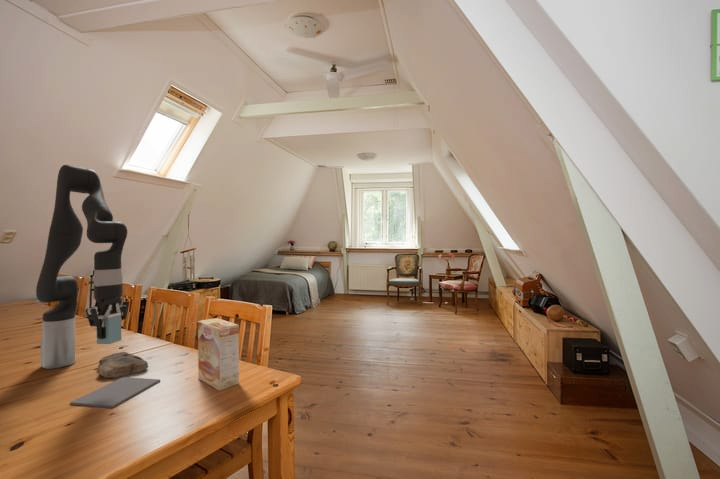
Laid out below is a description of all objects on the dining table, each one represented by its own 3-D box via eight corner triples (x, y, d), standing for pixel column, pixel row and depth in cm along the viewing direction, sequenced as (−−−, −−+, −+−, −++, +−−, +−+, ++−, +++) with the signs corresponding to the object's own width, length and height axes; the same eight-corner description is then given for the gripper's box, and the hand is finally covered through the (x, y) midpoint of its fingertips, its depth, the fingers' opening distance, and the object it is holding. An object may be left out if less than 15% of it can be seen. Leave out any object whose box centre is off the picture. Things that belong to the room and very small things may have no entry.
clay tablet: (93, 366, 127) (100, 382, 113) (93, 353, 127) (100, 367, 113) (137, 358, 137) (149, 371, 122) (137, 346, 137) (149, 357, 122)
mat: (70, 404, 97) (70, 402, 97) (123, 378, 115) (123, 377, 115) (112, 408, 95) (112, 405, 95) (160, 381, 113) (160, 379, 113)
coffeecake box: (197, 378, 115) (197, 320, 115) (217, 372, 120) (217, 317, 120) (218, 391, 105) (218, 328, 105) (239, 384, 111) (239, 324, 111)
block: (96, 343, 108) (96, 315, 108) (109, 339, 112) (109, 312, 112) (109, 344, 107) (108, 315, 107) (121, 340, 111) (120, 312, 111)
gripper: (117, 280, 117) (118, 330, 117) (76, 286, 103) (77, 342, 103) (136, 280, 116) (137, 330, 116) (97, 286, 102) (98, 343, 102)
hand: (109, 336), depth 109 cm, fingers closed on block, 4 cm apart
